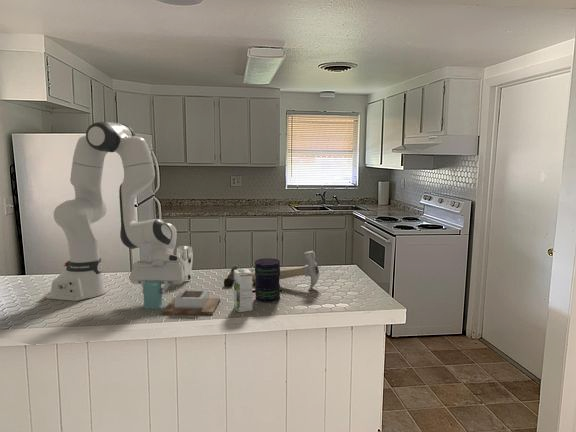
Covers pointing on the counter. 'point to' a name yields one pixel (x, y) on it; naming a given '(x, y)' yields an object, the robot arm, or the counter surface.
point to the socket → (192, 299)
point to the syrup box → (242, 290)
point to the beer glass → (186, 261)
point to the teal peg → (152, 295)
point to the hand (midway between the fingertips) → (153, 293)
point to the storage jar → (267, 280)
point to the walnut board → (208, 309)
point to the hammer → (301, 270)
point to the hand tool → (230, 278)
